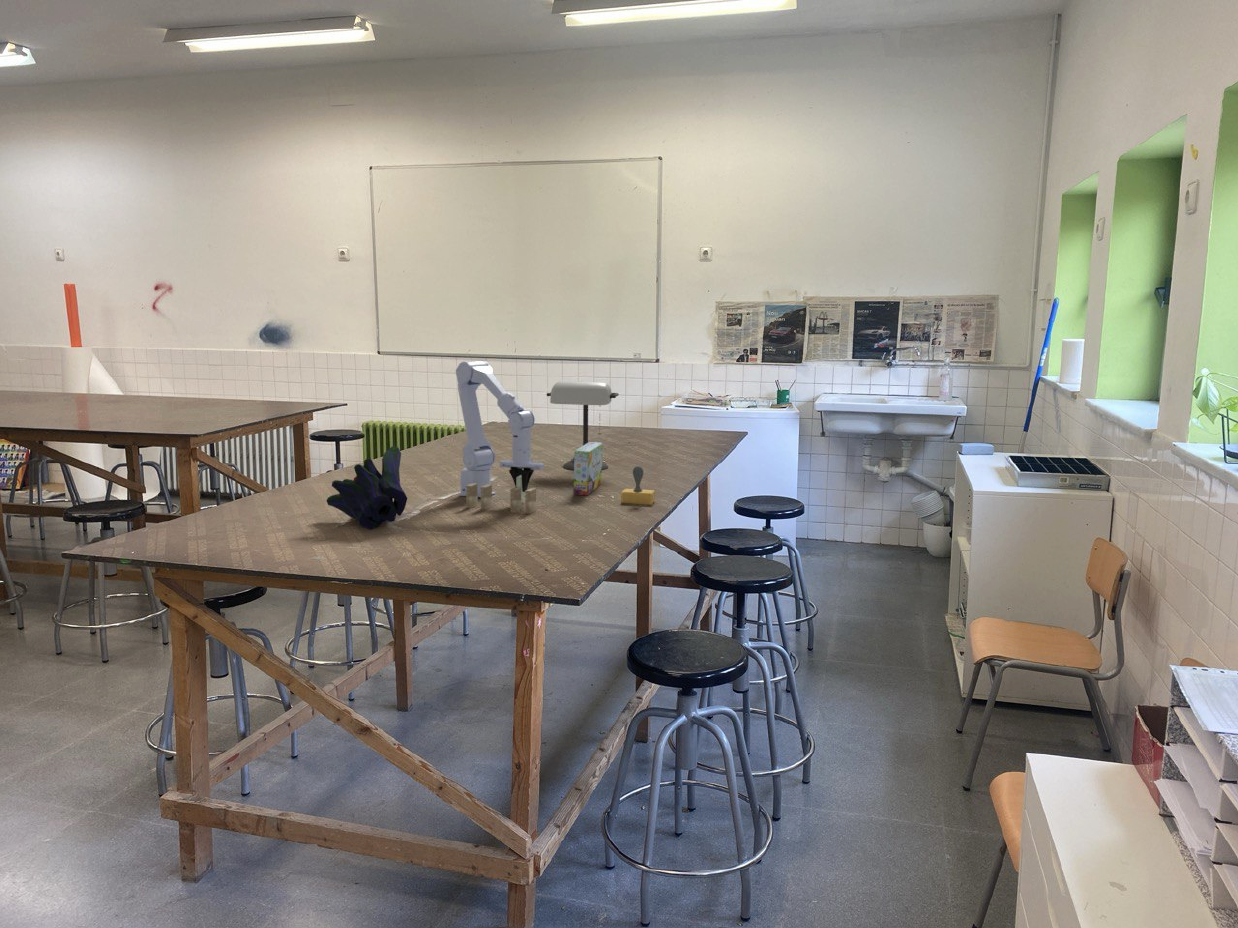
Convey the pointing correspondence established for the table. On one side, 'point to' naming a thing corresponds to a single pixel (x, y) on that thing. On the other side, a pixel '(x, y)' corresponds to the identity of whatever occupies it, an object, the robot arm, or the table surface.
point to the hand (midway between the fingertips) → (521, 490)
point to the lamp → (582, 402)
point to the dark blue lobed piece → (372, 492)
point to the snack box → (587, 468)
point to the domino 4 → (520, 485)
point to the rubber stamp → (637, 491)
